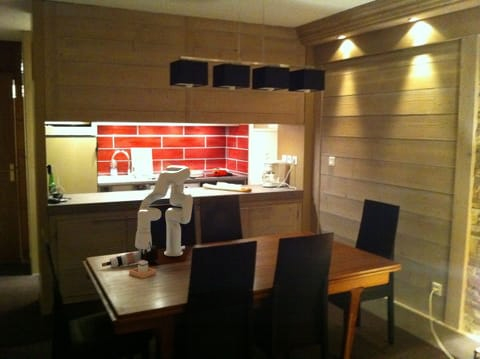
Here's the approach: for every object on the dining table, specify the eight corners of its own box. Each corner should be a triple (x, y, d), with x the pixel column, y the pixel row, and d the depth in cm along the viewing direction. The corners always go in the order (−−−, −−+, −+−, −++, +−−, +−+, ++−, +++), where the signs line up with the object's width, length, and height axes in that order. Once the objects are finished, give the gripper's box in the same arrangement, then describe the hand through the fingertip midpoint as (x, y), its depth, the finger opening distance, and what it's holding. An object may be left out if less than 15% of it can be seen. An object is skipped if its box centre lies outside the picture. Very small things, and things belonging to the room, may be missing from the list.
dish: (143, 270, 271) (143, 265, 270) (156, 273, 265) (156, 269, 264) (129, 274, 262) (129, 270, 261) (142, 278, 256) (142, 274, 255)
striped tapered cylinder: (102, 274, 273) (99, 258, 276) (155, 262, 289) (151, 247, 292) (105, 271, 265) (101, 255, 267) (159, 259, 281) (155, 243, 283)
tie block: (143, 271, 266) (143, 260, 265) (147, 273, 264) (148, 261, 263) (137, 273, 263) (137, 261, 262) (142, 274, 260) (142, 263, 260)
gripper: (130, 229, 275) (130, 258, 277) (148, 233, 266) (147, 263, 268) (139, 227, 281) (139, 255, 283) (157, 230, 273) (156, 260, 275)
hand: (143, 259), depth 276 cm, fingers closed
